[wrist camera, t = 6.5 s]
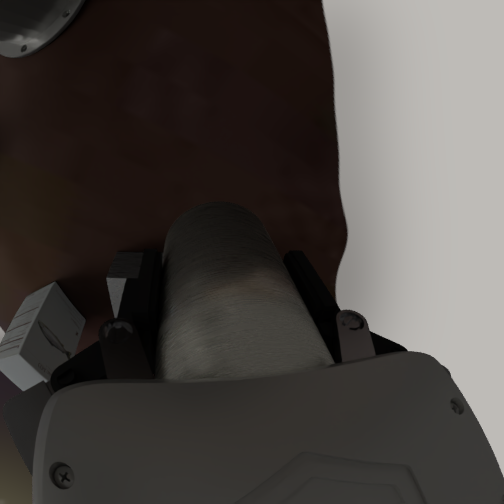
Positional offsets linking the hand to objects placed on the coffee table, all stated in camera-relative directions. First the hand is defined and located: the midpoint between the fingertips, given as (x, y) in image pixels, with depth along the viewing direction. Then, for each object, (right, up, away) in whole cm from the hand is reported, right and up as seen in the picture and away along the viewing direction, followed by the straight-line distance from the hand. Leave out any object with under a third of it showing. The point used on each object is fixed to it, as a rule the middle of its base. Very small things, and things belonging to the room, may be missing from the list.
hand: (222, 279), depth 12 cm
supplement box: (-26, -6, +18) cm, 32 cm away
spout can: (-1, 0, +3) cm, 3 cm away
